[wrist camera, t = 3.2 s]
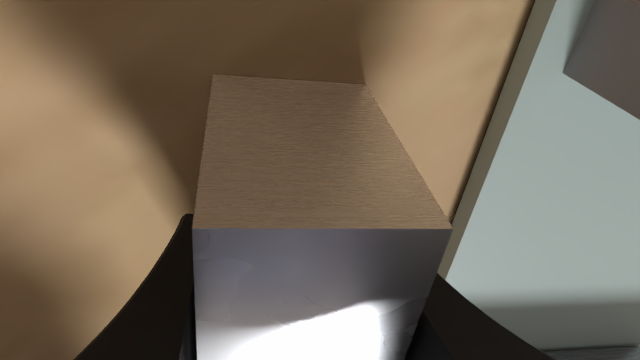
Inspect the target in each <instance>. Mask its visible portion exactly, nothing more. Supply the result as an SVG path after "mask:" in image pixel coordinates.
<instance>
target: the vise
mask: <svg viewBox="0 0 640 360" xmlns="http://www.w3.org/2000/svg"><path fill="white" fill-rule="evenodd" d="M451 226H452V227H453V231H452V234H451V237H450V239H449V242H448V245H447V247H446V250H445V252H444V255H443V258H442V260H441V263H440V266H439V268H438V271H437V273H438V274H439V275H440V276H441V277H442V278H443V279H445V280H446V281H447V282H448V283H449V284H450V285H451V286H452V287H453V288H455V289H456V290H457V291H458V292H459V293H460V294H461V295H463V296H464V297H465V298H466V299H467V300H469V301H470V302H471V303H473V304H474V305H475V306H476V307H478V308H479V309H480V310H482V311H483V312H484V313H485V314H487V315H488V316H489V317H491V318H492V319H493V320H495V321H496V322H498V323H499V324H500V325H502V326H503V327H505V328H506V329H508V330H509V331H511V332H512V333H514V334H515V335H516V336H518V337H519V338H521V339H522V340H524V341H525V342H527V343H529V344H530V345H532V346H533V347H535V348H537V349H538V350H540V351H541V352H552V351H569V350H586V349H603V348H620V347H637V346H640V0H535V3H534V6H533V8H532V11H531V14H530V16H529V19H528V22H527V24H526V27H525V30H524V32H523V35H522V38H521V40H520V43H519V46H518V48H517V51H516V54H515V57H514V59H513V62H512V65H511V67H510V70H509V73H508V75H507V78H506V81H505V83H504V86H503V89H502V91H501V94H500V97H499V99H498V102H497V105H496V107H495V110H494V113H493V116H492V118H491V121H490V124H489V126H488V129H487V132H486V134H485V137H484V140H483V142H482V145H481V148H480V150H479V153H478V156H477V158H476V161H475V164H474V166H473V169H472V172H471V175H470V177H469V180H468V183H467V185H466V188H465V191H464V193H463V196H462V199H461V201H460V204H459V207H458V209H457V212H456V215H455V217H454V220H453V223H452V225H451Z"/></svg>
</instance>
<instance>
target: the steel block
mask: <svg viewBox="0 0 640 360" xmlns="http://www.w3.org/2000/svg"><path fill="white" fill-rule="evenodd" d="M452 231H453V227H452V226H451V224H450V222H449V221H448V219H447V218H446V216H445V214H444V213H443V211H442V209H441V208H440V206H439V204H438V203H437V201H436V199H435V198H434V196H433V194H432V193H431V191H430V190H429V188H428V186H427V185H426V183H425V181H424V180H423V178H422V176H421V175H420V173H419V171H418V170H417V168H416V167H415V165H414V163H413V162H412V160H411V158H410V157H409V155H408V153H407V152H406V150H405V148H404V147H403V145H402V144H401V142H400V140H399V139H398V137H397V135H396V134H395V132H394V130H393V129H392V127H391V125H390V124H389V122H388V120H387V119H386V117H385V116H384V114H383V112H382V111H381V109H380V107H379V106H378V104H377V102H376V101H375V99H374V97H373V96H372V94H371V93H370V91H369V89H368V88H367V86H366V84H352V83H337V82H322V81H307V80H292V79H278V78H263V77H248V76H233V75H218V74H213V77H212V85H211V92H210V100H209V107H208V114H207V122H206V129H205V136H204V144H203V151H202V158H201V166H200V173H199V181H198V188H197V195H196V203H195V210H194V217H193V225H192V241H193V266H194V292H195V317H196V342H197V360H404V358H405V356H406V353H407V350H408V348H409V345H410V342H411V340H412V337H413V334H414V332H415V329H416V327H417V324H418V321H419V319H420V316H421V313H422V311H423V308H424V305H425V303H426V300H427V297H428V295H429V292H430V289H431V287H432V284H433V282H434V279H435V276H436V274H437V271H438V268H439V266H440V263H441V260H442V258H443V255H444V252H445V250H446V247H447V245H448V242H449V239H450V237H451V234H452Z"/></svg>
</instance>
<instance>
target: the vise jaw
mask: <svg viewBox="0 0 640 360" xmlns="http://www.w3.org/2000/svg"><path fill="white" fill-rule="evenodd" d="M543 353H545V354H546V355H548V356H550V357H552V358H553V359H555V360H640V346H637V347H620V348H603V349H586V350H569V351H552V352H543Z"/></svg>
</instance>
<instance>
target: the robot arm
mask: <svg viewBox="0 0 640 360" xmlns="http://www.w3.org/2000/svg"><path fill="white" fill-rule="evenodd" d="M193 217H194V214H185V215H184V216H183V217H182V218H181V220H180V223H179V225H178V227H177V229H176V231H175V233H174V235H173V236H172V238H171V240H170V242H169V243H168V245H167V247H166V248H165V250H164V252H163V253H162V255H161V256H160V258H159V259H158V261H157V262H156V264H155V265H154V267H153V268H152V270H151V271H150V273H149V274H148V276H147V277H146V278H145V280H144V281H143V282H142V284H141V285H140V286H139V288H138V289H137V290H136V292H135V293H134V294H133V295H132V297H131V298H130V299H129V301H128V302H127V303H126V304H125V305H124V307H123V308H122V309H121V310H120V311H119V313H118V314H117V315H116V316H115V317H114V318H113V319H112V321H111V322H110V323H109V324H108V325H107V326H106V327H105V328H104V329H103V330H102V332H101V333H100V334H99V335H98V336H97V337H96V338H95V339H94V340H93V341H92V342H91V343H90V344H89V345H88V346H87V347H86V348H85V349H84V350H83V351H82V352H81V353H80V354H79V355H78V356H77V357H76V358H75V359H74V360H197V342H196V317H195V292H194V266H193V241H192V225H193ZM404 360H555V359H553V358H552V357H550V356H548V355H546V354H545V353H543V352H541V351H540V350H538V349H537V348H535V347H533V346H532V345H530V344H529V343H527V342H525V341H524V340H522V339H521V338H519V337H518V336H516V335H515V334H514V333H512V332H511V331H509V330H508V329H506V328H505V327H503V326H502V325H500V324H499V323H498V322H496V321H495V320H493V319H492V318H491V317H489V316H488V315H487V314H485V313H484V312H483V311H482V310H480V309H479V308H478V307H476V306H475V305H474V304H473V303H471V302H470V301H469V300H467V299H466V298H465V297H464V296H463V295H461V294H460V293H459V292H458V291H457V290H456V289H455V288H453V287H452V286H451V285H450V284H449V283H448V282H447V281H446V280H445V279H443V278H442V277H441V276H440V275H439V274H438V273H437V274H436V276H435V279H434V282H433V284H432V287H431V289H430V292H429V295H428V297H427V300H426V303H425V305H424V308H423V311H422V313H421V316H420V319H419V321H418V324H417V327H416V329H415V332H414V334H413V337H412V340H411V342H410V345H409V348H408V350H407V353H406V356H405V358H404Z"/></svg>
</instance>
